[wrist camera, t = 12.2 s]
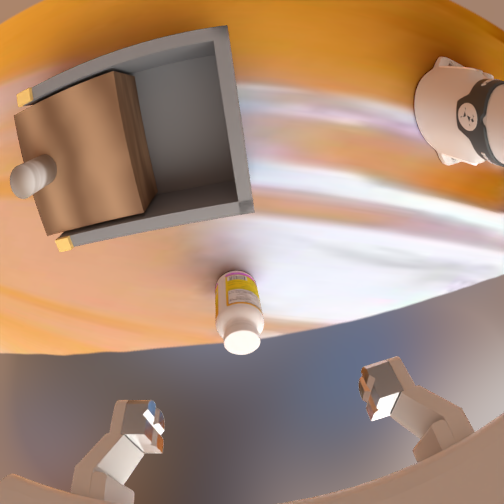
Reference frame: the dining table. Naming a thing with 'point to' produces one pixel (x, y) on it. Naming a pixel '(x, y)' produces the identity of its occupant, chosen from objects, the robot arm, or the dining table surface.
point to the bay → (174, 130)
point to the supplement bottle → (238, 312)
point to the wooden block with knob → (85, 154)
